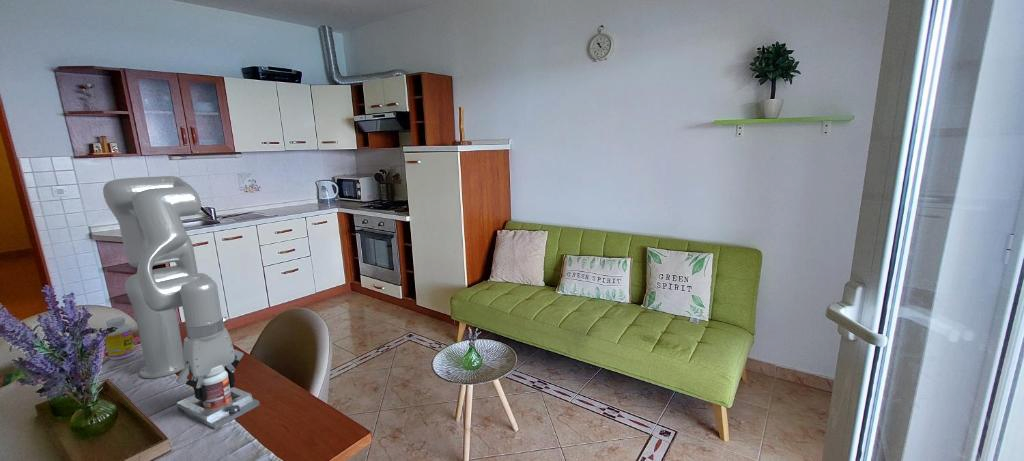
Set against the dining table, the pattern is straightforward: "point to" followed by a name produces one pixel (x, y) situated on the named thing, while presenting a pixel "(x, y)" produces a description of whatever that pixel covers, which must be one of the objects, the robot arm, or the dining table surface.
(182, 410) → the slotted white bracket
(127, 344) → the supplement bottle
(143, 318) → the robot arm
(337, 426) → the dining table surface
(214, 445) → the dining table surface
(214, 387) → the pill bottle
